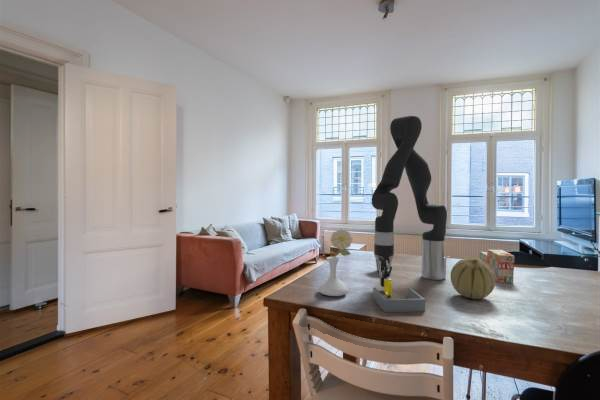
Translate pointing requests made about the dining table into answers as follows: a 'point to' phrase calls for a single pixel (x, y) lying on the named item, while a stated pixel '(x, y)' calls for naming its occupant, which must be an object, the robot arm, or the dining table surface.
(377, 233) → the robot arm
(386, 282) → the watch
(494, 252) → the printed cardboard carton
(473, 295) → the cantaloupe
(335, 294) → the flower in vase
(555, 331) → the dining table surface
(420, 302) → the box
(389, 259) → the flower pot
